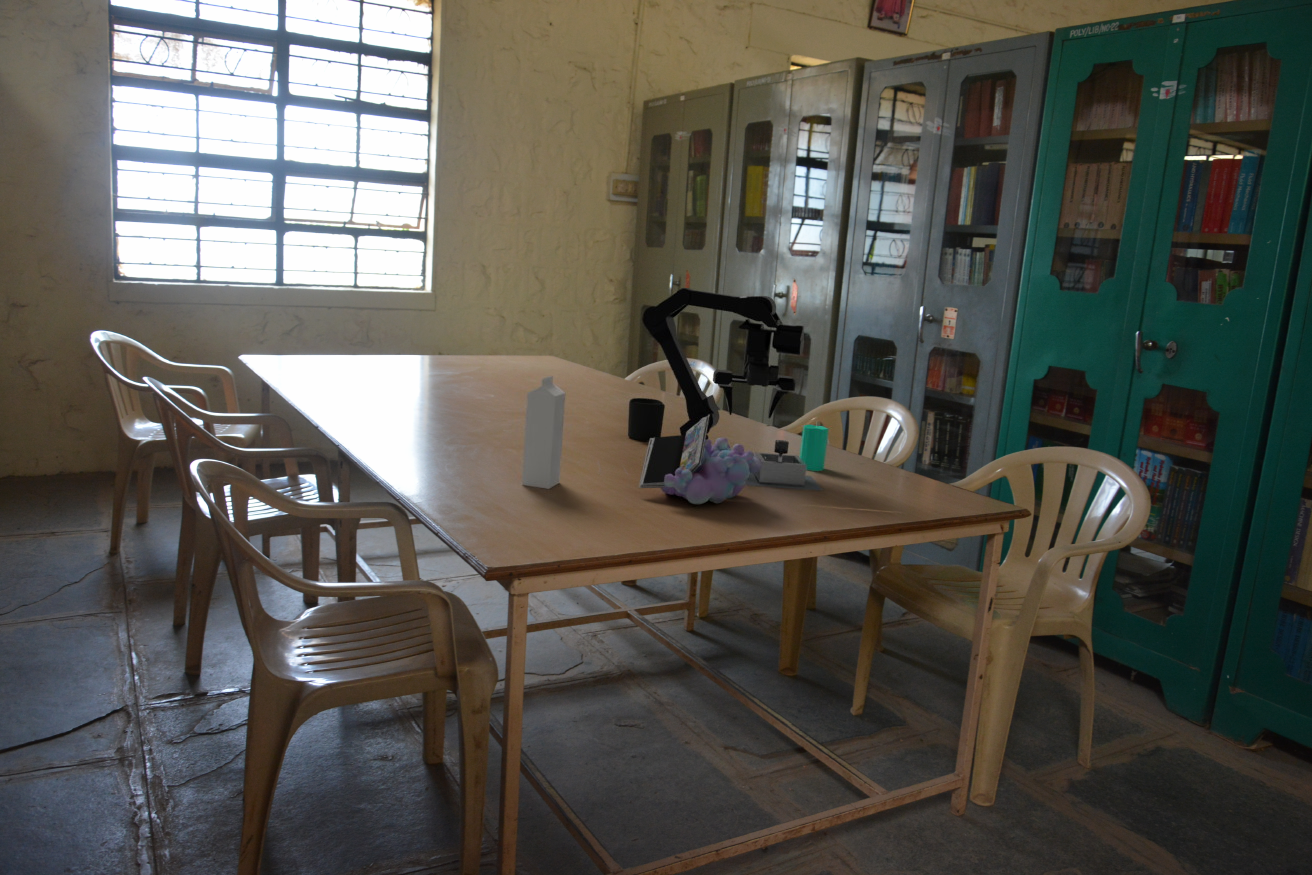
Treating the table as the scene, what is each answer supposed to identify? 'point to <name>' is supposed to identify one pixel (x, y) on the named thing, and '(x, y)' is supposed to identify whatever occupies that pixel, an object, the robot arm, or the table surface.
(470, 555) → the table surface
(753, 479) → the slate mat
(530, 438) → the milk
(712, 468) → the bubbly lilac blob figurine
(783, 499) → the table surface
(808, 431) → the candle
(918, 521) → the table surface
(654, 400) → the pen holder
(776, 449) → the plunger
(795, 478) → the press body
